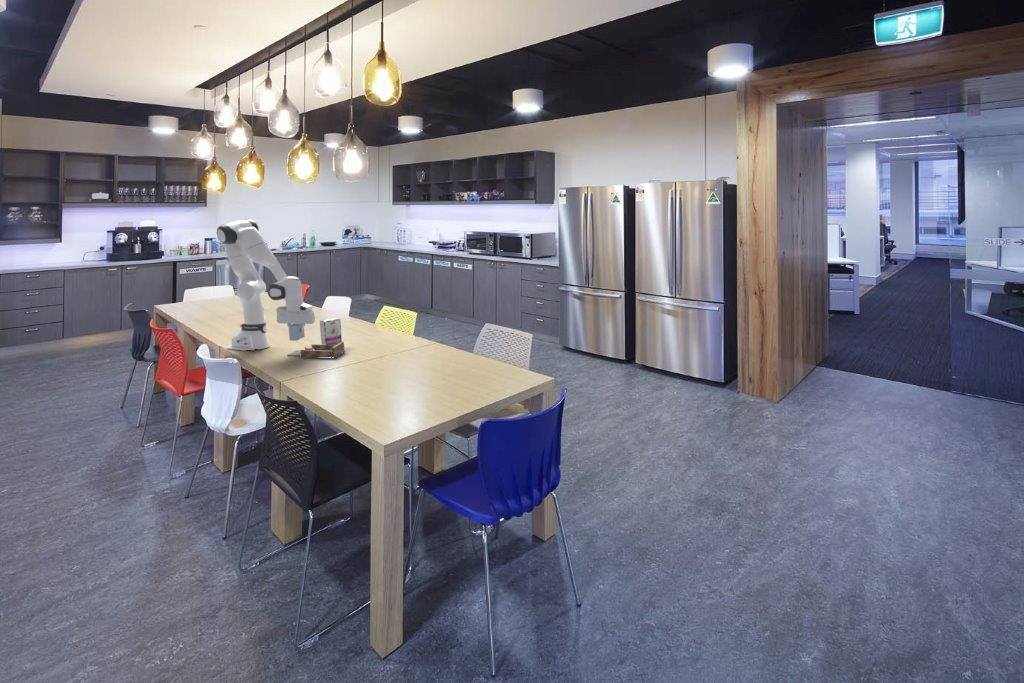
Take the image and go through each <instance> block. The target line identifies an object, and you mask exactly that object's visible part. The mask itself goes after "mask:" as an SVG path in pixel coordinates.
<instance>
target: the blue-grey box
mask: <svg viewBox="0 0 1024 683" xmlns="http://www.w3.org/2000/svg"><path fill="white" fill-rule="evenodd" d="M301 327H302V326H301V324H291V325H290V326H289V327H288V336H289V341H295V342H296V341H299V340H300V339H303V338H305V327H304V328H303V332H300V330H299V329H300V328H301Z"/></svg>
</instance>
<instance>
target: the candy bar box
mask: <svg viewBox="0 0 1024 683" xmlns="http://www.w3.org/2000/svg"><path fill="white" fill-rule="evenodd" d="M341 322H342V321H341V318H337V317H334V318H333V317H332V318H327V319H321V320H319V329H320V330H319V332H320V341H321V342H320V343H321V344H322V345H337V344H339V343H341V342H343V340H342V324H341Z"/></svg>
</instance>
